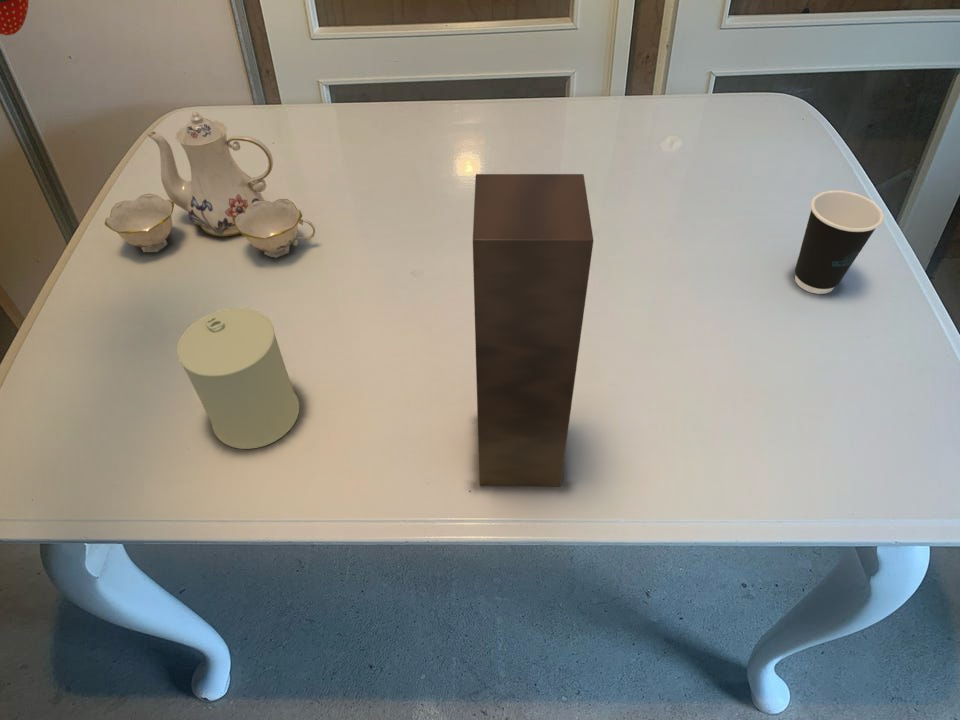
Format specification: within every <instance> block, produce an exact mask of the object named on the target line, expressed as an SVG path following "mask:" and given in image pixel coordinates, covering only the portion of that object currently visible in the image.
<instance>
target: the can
mask: <svg viewBox="0 0 960 720" xmlns="http://www.w3.org/2000/svg"><path fill="white" fill-rule="evenodd" d="M277 339H278V338H277V336H276V332H275V327H274V325H273V323H272V321H271V320H270V319H269V318H268V317H267V316H266V315H265V314H263V313H262V312H259V311H257V310H255V309H251V308H244V307H231V308H225V309H220V310H216V311H213V312H210V313H208V314H206V315H203V316H202V317H199V318H198V319H197V320H195V321H194V322H193V323H192V324H191V325H189V326H188V327H187V328H186V329H185V330H184V332H183V333H182V335H181V336H180V338H179V340H178V343H177V346H176V355H177V359H178V361H179V363H180V365H181V366H182V368H183V370H184V371H185V373H186V375H187V377H188V379H189V381H190V382H191V384H192V387H193V388H194V390H195V393H196V394H197V397H198V398H199V401H200V402H201V404H202V407H203V409H204V411H205V412H206V415H207V417H208V419H209V421H210V423H211V427H212V431H213V433H214V435H215V436H216V438H217V439H218V440H219V441H221V443H223V444H225V445H226V446H228V447H230V448H231V447H232V448H235V449H241V450H250V449H251V450H253V449H258V448H262V447H266V446H268V445H270V444H272V443H275V442H276V441H278V440H280V439H281V438H283V437H284V436H286V435H287V434H288V432H289V431H290V430H291V429H292V428H293V426H294V425H295V424H296V422H297V419H298V417H299V413H300V401H299V398H298V396H297V394H296V393H295V390H294V388H293V385H292V382H291V380H290V377H289V373H288V371H287V368H286V365H285V361H284V358H283V355H282V352H281V349H280V346H279V343H278V340H277Z"/></svg>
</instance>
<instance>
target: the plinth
mask: <svg viewBox="0 0 960 720" xmlns="http://www.w3.org/2000/svg"><path fill="white" fill-rule="evenodd" d="M585 180H586V179H585V175H584V173H476V174H475V181H474V201H473V203H474V204H473V226H472V261H473V262H472V266H473V267H472V269H473V303H474V306H473V307H474V339H475V377H476V413H477V414H476V415H477V445H478V446H477V450H478V485H479V486H491V487H492V486H493V487H494V486H499V487H500V486H501V487H502V486H504V487H505V486H508V487H561V485H562V477H563V472H564V471H563V470H564V463H565V457H566V450H567V449H566V448H567V442H568V434H569V426H570V419H571V410H572V404H573V395H574V389H575V381H576V373H577V366H578V360H579V352H580V346H581V345H580V344H581V336H582V330H583V329H582V328H583V322H584V315H585V307H586V299H587V292H588V286H589V285H588V284H589V277H590V269H591V261H592V255H593V248H594V235H593V227H592V222H591V214H590V213H591V212H590V207H589V201H588V200H589V199H588V195H587V187H586V181H585Z"/></svg>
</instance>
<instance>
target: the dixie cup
mask: <svg viewBox="0 0 960 720" xmlns="http://www.w3.org/2000/svg"><path fill="white" fill-rule="evenodd" d="M884 218H885V216H884V212H883V210H882V208H881V207H880V206H879V205H878V204H877V203H876V202H875V201H873V200H871V199H870V198H869V197H866V196H865V195H861V194H859V193H856V192H853V191H847V190H836V189H835V190H826V191H823V192H822V191H821V192H819V193H818V194H816V195H814V196H813V198H812V199H811V201H810V213H809V216H808V220H807V224H806V228H805V230H804V231H805V232H804V235H803V238H802V243H801V246H800V249H799V254H798V258H797V261H796V264H795V268H794V274H795V276H794V281H795V283H796V284H797V285H798V287H799V288H801V289H802V290H804V291H806V292H808V293H812V294H817V295H823V294H828V293H831V292H832V291H833V290H834V289H835V288H836V287H837V286H838V285H840V283H841V281H842V280H843V278H844V277H845V275H846V274H847V272H848V270H850V268H851V266H852V265H853V263H854V262H855V261H856V259H857V257H858V256H859V254H860V253H861V251H862V250H863V249H864V247H865V245H866V244H867V242H868V241H869V239H870V238H871V237H872V235H873V233H874V232H875V231H876V229H877V228H879V227H880V226H881V225H882V224H883V222H884V220H885V219H884Z"/></svg>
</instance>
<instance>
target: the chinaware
mask: <svg viewBox="0 0 960 720" xmlns="http://www.w3.org/2000/svg"><path fill="white" fill-rule="evenodd" d="M227 131H228V126H227V125H226V124H225V123H224V122H221V121H219V120H216V119H215V120H212V119H208V118H205V117H203V115H201V114H199V112H197V111H193V112H192V113H191V116H190V118H189V121H188V122H187V124H186V125H184V126H181V127H180V128H179V130H178V131H176V132H175V136H174V138H175V140H176V142H178V143H179V144H180V146H181V147H182V149H183V151H184V153H185V155H186V158H187V161H188V163H189V168H190V179H191V180H185V179H183V178H182V176H181V175H180V173H179V169H178V167H177V162H176V158H175V155H174V152H173V148H172V146H171V145H170V143H169V141H168V140H167V139H166V138H165V137H164V136H163V135H162V134H160V133H158V132H156V131H149V132H147V134H146V136H147V137H149V138H150V139H152V141H154V142H155V143H156V145H158V149H159V154H160V155H159V156H160V157H159V159H160V177H161V183H162V187H163V189H164V191H165V194H166V195H167V197H168V198H169V199H163V198H162V197H161V196H159V195H157V194H153V193H146V194H142V195H140V196H138V197H137V198H135V199H134V200H122V201H119V202H117V203H114V205H113V206H112V208H111V210H110V214H109V216H108V217H106V218H105V221H104V226H105V227H107V228H108V229H109V230H111V231H113V232H115V233H117V234H118V235H119V236H120V237H121V238H122V240H124V241H125V242H127V243H128V244H130V245H132V246H135V247H139V248H140V249H141V250H142V253H158V252H160V250H162V249H164V248H165V247H166V246H167V245H168V241H167V240H166V239H168V237H169V235H170V234H171V231H172V227H173V220H172V219H173V218H172V214H173V212H174V209H175V208H174V207H175V205H176V206H177V207H179V208H181V209H182V210H184V211H186V212H188V218H189V220H190V221H191V222H192V223H193V224H195V225H197V226H200V227H201V229H202V231H203V232H204V233H206V234H208V235H210V236H213V237H214V236H215V237H221V238H222V237H232V236H238V235H240V234H241V235H242V236H244V237H245V239H246V240H247V242H248V243H249V244H251V246H253V247H254V248H256V249H257V250H260V251H263V252H264V253H263V255H264V256H265V255H266V256H269V257H271V258H275V259H277V258H278V257H281V256H284V255H286V254H289V252H290V248H291V247H290V246H291V245H292V246H295V247H296V246H298V244H299V241H298V240H302V241H308V240H311V239H312V238H314V236H315V234H316V227H315V225H314V224H313V222H311V221H310V220H309V219H303V213H302V211H301V210H300V209H298V207H296V205H295V204H294V202H293V201H291V200H289V199H288V198H279V199H276V200H273V201H269V200H265V197H264V196H263V195H262V192H264V191H265V190H266V188H267V183H266V180H265V179H266V178H267V177H268V176H270V174H271V172H272V170H273V167H274V157H273V155H272V152H271V151H270V149H269V148H268V146H266V144H265V143H264V142H262V140H261V141H260V140H259V139H258V138H255V137H252V136H249V135H234V136H231V137H229V138H227V137H228V136H227ZM231 142H232V144H231ZM240 142H247V143H250V144H254V145H255V146H257V147H258V148H260V149H261V150H262V151H263V153H264V154H265V156H266V158H267V163H268V165H267V168H266V170H265V171H264V172H263V173H262V174H260V175H257V176H253V177H251V176H249V174H247V173H246V172H245V171H243V170H242V168H241V167H240V166H239V165H238V164H237V162H236V160H235V159H234V157H233V156H232V153H231V150H230V149H232V150H233V151H235V152H236V151H239V150H241V143H240ZM304 223H307V224H308V225H309V226H310V227H311V228H312V233H311V235H309V236H305V237H304V236H303V237H302V236H297V233H298V229H299V228H298V226H299V224H300V225H301V226H303V225H304Z"/></svg>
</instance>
